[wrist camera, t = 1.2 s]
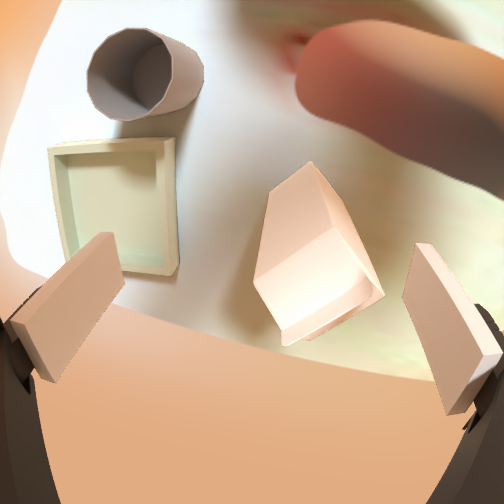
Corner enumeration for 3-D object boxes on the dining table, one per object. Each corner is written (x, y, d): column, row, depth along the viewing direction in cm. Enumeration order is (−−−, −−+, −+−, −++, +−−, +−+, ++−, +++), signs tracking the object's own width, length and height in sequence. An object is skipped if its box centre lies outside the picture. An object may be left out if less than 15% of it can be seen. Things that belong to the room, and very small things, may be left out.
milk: (268, 191, 36) (242, 314, 17) (311, 159, 34) (341, 250, 14) (302, 231, 38) (309, 377, 18) (344, 201, 36) (398, 329, 16)
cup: (143, 121, 34) (98, 133, 25) (126, 57, 30) (78, 52, 21) (212, 100, 32) (184, 102, 23) (195, 32, 29) (162, 13, 20)
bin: (63, 142, 35) (47, 147, 32) (175, 136, 34) (164, 141, 31) (78, 251, 43) (66, 263, 40) (179, 262, 42) (171, 276, 38)
